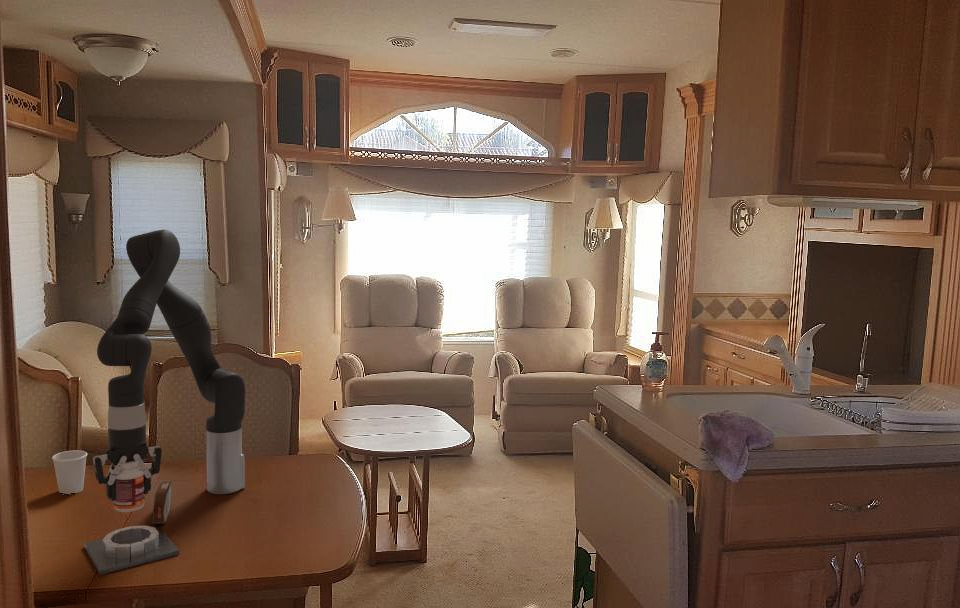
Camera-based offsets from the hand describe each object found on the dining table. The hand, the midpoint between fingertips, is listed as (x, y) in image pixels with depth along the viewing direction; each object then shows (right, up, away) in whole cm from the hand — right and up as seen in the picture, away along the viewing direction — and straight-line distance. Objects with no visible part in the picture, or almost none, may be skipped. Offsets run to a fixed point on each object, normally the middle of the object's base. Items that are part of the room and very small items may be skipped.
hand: (129, 496), depth 162 cm
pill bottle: (0, -3, 0) cm, 3 cm away
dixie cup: (-33, -8, +35) cm, 49 cm away
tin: (-1, -11, +20) cm, 23 cm away
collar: (0, -13, +1) cm, 13 cm away
